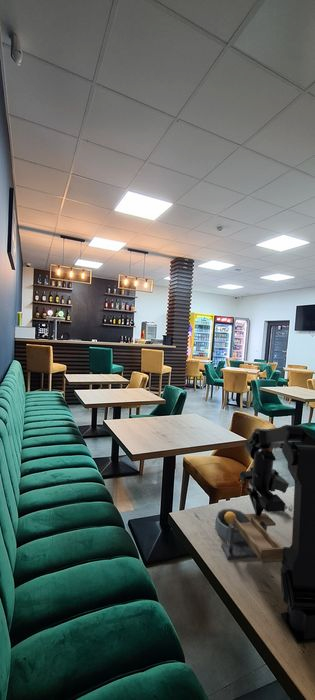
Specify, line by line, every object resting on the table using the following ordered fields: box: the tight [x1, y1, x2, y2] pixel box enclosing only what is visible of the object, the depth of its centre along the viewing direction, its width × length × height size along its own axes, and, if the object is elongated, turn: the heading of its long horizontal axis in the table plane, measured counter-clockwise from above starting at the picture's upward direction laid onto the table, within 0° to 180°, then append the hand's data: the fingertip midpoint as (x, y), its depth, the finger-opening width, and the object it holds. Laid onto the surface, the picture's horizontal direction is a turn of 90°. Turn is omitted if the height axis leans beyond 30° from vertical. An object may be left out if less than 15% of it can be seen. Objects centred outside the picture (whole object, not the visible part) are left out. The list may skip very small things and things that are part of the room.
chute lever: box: [233, 512, 285, 564], centre depth 87 cm, size 22×14×3 cm, turn 10°
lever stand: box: [220, 522, 268, 560], centre depth 90 cm, size 5×13×8 cm, turn 100°
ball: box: [224, 511, 237, 525], centre depth 102 cm, size 4×4×4 cm
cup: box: [214, 508, 248, 543], centre depth 99 cm, size 11×11×4 cm
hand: (257, 514), depth 98 cm, fingers closed
